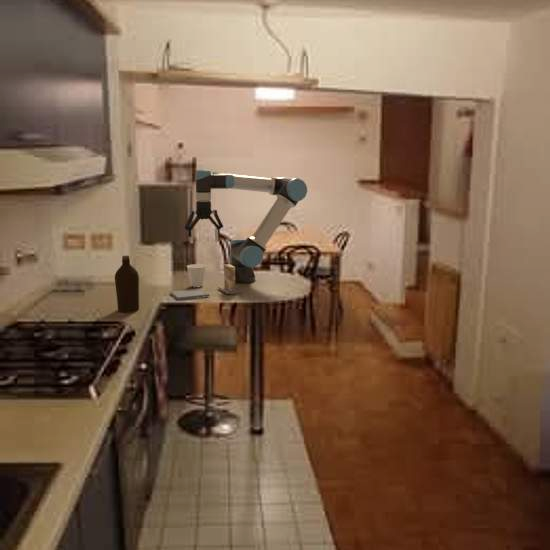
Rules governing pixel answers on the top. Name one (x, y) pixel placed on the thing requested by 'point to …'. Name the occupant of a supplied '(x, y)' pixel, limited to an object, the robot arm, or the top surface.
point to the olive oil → (127, 287)
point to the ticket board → (189, 294)
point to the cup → (196, 274)
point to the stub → (229, 280)
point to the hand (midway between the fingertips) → (204, 242)
